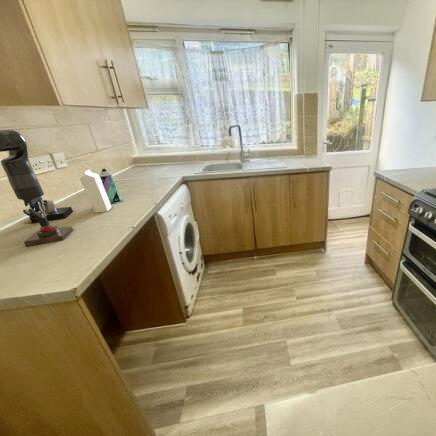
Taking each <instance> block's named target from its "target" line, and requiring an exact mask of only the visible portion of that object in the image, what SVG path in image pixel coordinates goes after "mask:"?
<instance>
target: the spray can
mask: <svg viewBox="0 0 436 436" xmlns="http://www.w3.org/2000/svg"><path fill="white" fill-rule="evenodd" d="M98 175H99V177H100V179H101V182H102V184H103V187H104V189H105V192H106V194H107V197H108V199H109V202H110V204H116V203H120V202H122V198H121V195H120V193H119V190H118V188H117V187H118V186H117V184H116V182H115V179H114V177H113V173H112V172H111V171H108V170H107V169H106V168H101V172H100V173H98Z"/></svg>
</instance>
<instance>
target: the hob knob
mask: <svg viewBox="0 0 436 436" xmlns="http://www.w3.org/2000/svg"><path fill="white" fill-rule="evenodd" d="M47 201H48V213H53V212H56V211H57V209H56V205H55V203H54V200H47Z"/></svg>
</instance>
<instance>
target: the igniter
mask: <svg viewBox="0 0 436 436" xmlns="http://www.w3.org/2000/svg"><path fill="white" fill-rule="evenodd" d="M52 227H53V230H50V231H47V232H41V230H40V229H38V230H37V231H35V232H34V233H33V234H32V235H30V236H29V237H28V238H26V239H25V240H24V241H23V243H24V245H25V247H26V248H27V247H32V246H38V245H39V246H40V245H45V244H50V243H56V242H61V241H65V239H66V238H67V237H68V236H69V235H70V234H71V233H72V232H73V231H74V229H73V227H72V226H63V227H58V226H54V225H52Z"/></svg>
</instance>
